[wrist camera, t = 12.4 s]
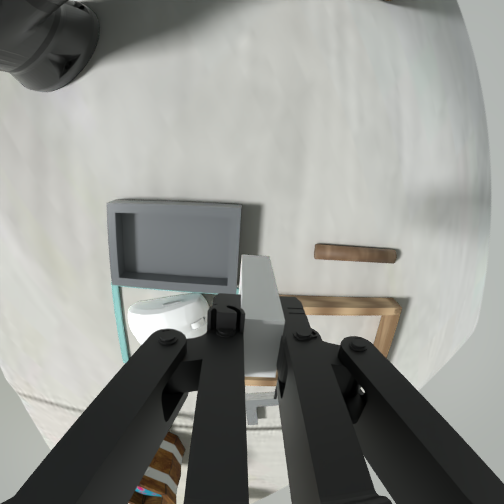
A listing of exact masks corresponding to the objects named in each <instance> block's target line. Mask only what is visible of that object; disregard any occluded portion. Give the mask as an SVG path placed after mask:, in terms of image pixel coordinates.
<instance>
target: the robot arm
mask: <svg viewBox="0 0 504 504" xmlns="http://www.w3.org/2000/svg"><path fill="white" fill-rule="evenodd" d="M98 37H99V22H98V19H97V16H96V15H95V13H94V12H93V11H92V10H91V9H90V8H88V7H87V6H86V5H84V4H82V3H80V2H77V1H70V0H0V71H5V72H9V73H10V74H11V75H12V76H13V77H14V78H16V79H17V80H18V81H19V82H20V83H21V84H22V85H23V86H24V87H26V88H28V89H30V90H34V91H39V92H50V91H53V90H56V89H59V88H61V87H63V86H64V85H66V84H67V83H69V82H70V81H71V80H72V79H74V78H75V77H76V76H77V75H78V74H79V73H80V72H81V71H82V69H83V68H84V67H85V65H86V64H87V63H88V61H89V59H90V58H91V56H92V54H93V52H94V50H95V47H96V45H97V41H98ZM276 370H277V372H278V379H277V384H276V389H275V394H274V399H277V396H278V403H279V410H280V418H281V425H282V433H283V440H284V448H285V455H286V463H287V470H288V478H289V486H290V493H291V501H292V504H392V502H391V501H390V500H389V499H388V498H387V497H385V496H379V495H378V494H377V493H376V491H375V489H374V486H373V483H372V480H371V477H370V474H369V471H368V468H367V465H366V462H365V459H364V457H365V458H366V460H367V461H368V463H369V464H370V466H371V467H372V469H373V470H374V472H375V473H376V475H377V476H378V478H379V479H380V480H381V482H382V483H383V485H384V486H385V488H386V489H387V491H388V492H389V494H390V495H391V497H392V498H393V500H394V501H395V503H396V504H504V484H503V483H502V481H501V480H500V479H499V478H498V477H497V476H496V475H495V474H494V473H493V471H492V470H491V469H490V468H489V467H488V466H487V465H486V464H485V463H484V461H483V460H482V459H481V458H480V457H479V456H478V455H477V454H476V453H475V452H474V451H473V449H472V448H471V447H470V446H469V445H468V444H467V443H466V442H465V441H464V440H463V438H462V437H461V436H460V435H459V434H458V433H457V432H456V431H455V430H454V429H453V428H452V427H451V426H450V425H449V423H448V422H447V421H446V420H445V419H444V418H443V417H442V416H441V415H440V414H439V413H438V412H437V411H436V410H435V409H434V408H433V406H432V405H431V404H430V403H429V402H428V401H427V400H426V399H425V398H424V397H423V396H422V395H421V394H420V393H419V392H418V391H417V390H416V388H415V387H414V386H413V385H412V384H411V383H410V382H409V381H408V380H407V379H406V378H405V377H404V376H403V375H402V374H401V373H400V372H399V371H398V370H397V369H396V368H395V367H394V366H393V365H392V364H391V362H390V361H389V360H388V359H387V358H386V357H385V356H384V355H383V354H382V353H381V352H380V351H379V350H378V349H377V348H376V347H375V346H374V345H373V344H372V343H371V342H369V341H368V340H366V339H364V338H362V337H356V336H351V337H346V338H344V339H343V340H342V341H341V345H336V344H331V343H327V342H324V341H322V339H321V336H320V335H319V333H318V332H317V331H315V330H314V329H312V328H311V327H310V325H309V322H308V319H307V316H306V314H305V311H304V308H303V305H302V302H301V301H299V300H298V299H297V298H296V297H288V296H279V294H278V289H277V285H276V281H275V277H274V273H273V269H272V265H271V261H270V257H269V256H258V255H244V254H242V258H241V270H240V283H239V294H226V293H219V294H218V295H217V296H215V297H214V300H213V306H212V307H210V308H209V309H208V311H207V332H206V333H205V334H203V335H202V336H199V337H195V338H188V339H186V336H185V335H184V334H183V333H182V332H180V331H178V330H175V329H160V330H157V331H155V332H154V333H152V334H151V335H150V336H149V337H148V338H147V340H146V341H145V342H144V343H143V344H142V345H141V346H140V347H139V349H138V350H137V351H136V352H135V353H134V354H133V355H132V357H131V358H130V359H129V360H128V361H127V362H126V363H125V365H124V366H123V367H122V368H121V369H120V370H119V372H118V373H117V374H116V375H115V376H114V377H113V378H112V380H111V381H110V382H109V383H108V384H107V385H106V387H105V388H104V389H103V390H102V391H101V392H100V394H99V395H98V396H97V397H96V398H95V399H94V401H93V402H92V403H91V404H90V405H89V406H88V408H87V409H86V410H85V411H84V412H83V413H82V415H81V416H80V417H79V418H78V419H77V421H76V422H75V423H74V424H73V425H72V426H71V428H70V429H69V430H68V431H67V432H66V434H65V435H64V436H63V437H62V438H61V440H60V441H59V442H58V443H57V444H56V446H55V447H54V448H53V449H52V450H51V452H50V453H49V454H48V455H47V456H46V458H45V459H44V460H43V461H42V463H41V464H40V465H39V466H38V467H37V469H36V470H35V471H34V472H33V474H32V475H31V476H30V477H29V478H28V480H27V481H26V482H25V483H24V485H23V486H22V487H21V488H20V490H19V491H18V492H17V493H16V495H15V496H14V497H12V498H10V499H8V500H7V501H5V502H3V503H1V504H128V502H129V500H130V499H131V497H132V495H133V493H134V492H135V490H136V488H137V486H138V484H139V483H140V481H141V479H142V477H143V476H144V474H145V472H146V470H147V469H148V467H149V465H150V463H151V461H152V460H153V458H154V456H155V454H156V452H157V451H158V449H159V447H160V445H161V443H162V442H163V440H164V438H165V436H166V434H167V433H168V431H169V429H170V427H171V425H172V424H173V422H174V420H175V418H176V416H177V415H178V413H179V411H180V409H181V407H182V406H183V404H184V402H185V400H186V398H187V396H188V392H192V391H198V394H197V401H196V408H195V415H194V423H193V430H192V438H191V446H190V454H189V462H188V471H187V479H186V488H185V497H184V504H249V494H248V467H247V438H246V406H245V376H246V377H275V376H276ZM361 387H362V388H363V389H364V391H365V393H363V392H362V390H361V389H360V388H361ZM363 455H364V456H363Z"/></svg>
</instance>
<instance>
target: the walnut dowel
mask: <svg viewBox="0 0 504 504" xmlns="http://www.w3.org/2000/svg"><path fill="white" fill-rule="evenodd" d="M314 258H315V259H324V260H342V261H359V262H377V263H395V261H396V258H397V254H396V251H395V250H392V249H378V248H364V247H350V246H336V245H321V244H316V245H315V251H314Z"/></svg>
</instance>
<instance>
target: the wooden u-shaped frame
mask: <svg viewBox="0 0 504 504" xmlns="http://www.w3.org/2000/svg"><path fill="white" fill-rule="evenodd" d="M279 296H288V297H296V298H297V299H298V300H299V301H301V302H302V305H303V308H304V311H305V314H306V315H382V317H381V320H380V324H379V327H378V331H377V334H376V338H375V341H374V344H373V345H374V346H375V347H376V348H377V349H378V350H379V351H380V352H381V353H382V354H383V355H384V356H385V357H386V358H387V355H388V352H389V349H390V346H391V343H392V340H393V337H394V334H395V330H396V327H397V324H398V321H399V317H400V314H401V310H402V307H401V306H400V305H399V304H398V303H397V302H396V301H395V300H394V298H371V297H325V296H296V295H279ZM277 379H278V372H277V370H276V376H275V377H246V376H245V385H247V386H276V384H277Z"/></svg>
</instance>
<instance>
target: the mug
mask: <svg viewBox="0 0 504 504" xmlns="http://www.w3.org/2000/svg"><path fill="white" fill-rule="evenodd" d="M184 452H185V448H184V446H183V445H182V443H181V441H180V439H179V438H178V436H177V435H174V434H172V433H170V432H168V433H167V434H166V436H165V438H164V440H163V442H162V443H161V445H160V447H159V449H158V451H157V452H156V454H155V456H154V458H153V460H152V461H151V463H150V465H149V467H148V469H147V470H146V472H145V474H144V476H143V477H142V479H141V481H140V483H139V484H138V486H137V488H136V490H135V492H134V493H133V495H132V497H131V499H130V500H129V502H128V503H130V504H176V494H177V487H178V484H179V480H180V477H181V463H182V458H183V455H184Z"/></svg>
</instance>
